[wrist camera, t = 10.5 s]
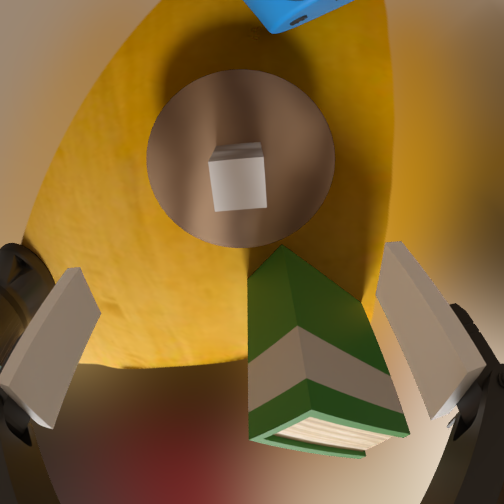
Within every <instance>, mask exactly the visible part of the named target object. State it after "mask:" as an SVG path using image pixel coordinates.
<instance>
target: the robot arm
mask: <svg viewBox="0 0 504 504" xmlns="http://www.w3.org/2000/svg"><path fill="white" fill-rule="evenodd" d="M376 297H377V299H378V300H379V302H380V304H381V306H382V308H383V311H384V312H385V315H386V317H387V319H388V321H389V323H390V325H391V327H392V329H393V331H394V333H395V335H396V338H397V340H398V342H399V344H400V346H401V349H402V351H403V353H404V355H405V357H406V360H407V362H408V364H409V366H410V369H411V371H412V374H413V376H414V378H415V381H416V383H417V386H418V388H419V391H420V393H421V396H422V398H423V400H424V403H425V406H426V408H427V411H428V414H429V417H430V419H431V420H433V419H436V418H439V417H441V416H444V415H447V414H449V413H450V412H451V411H452V409H453V408H454V407H455V406H456V405H457V407H458V409H459V412H458V413H457V414H456V416H455V417H454V418H453V419H452V420H451V421H450V422H449V424H448V425H447V428H449V427H450V426H451V425H452V424H453V423H454V424H453V428H452V431H451V434H450V436H449V439H448V442H447V445H446V447H445V450H444V453H443V455H442V458H441V460H440V463H439V465H438V467H437V470H436V472H435V474H434V476H433V479H432V481H431V483H430V485H429V487H428V489H427V491H426V494H425V496H424V497H423V499H422V501H421V503H420V504H504V364H500V363H499V361H498V360H497V358H496V357H495V355H494V353H493V352H492V350H491V348H490V347H489V345H488V343H487V342H486V340H485V339H484V337H483V336H482V334H481V333H480V332H479V329H478V328H477V326H476V325H475V324H473V320H472V319H471V318H470V316H469V315H468V313H467V312H466V311H465V310H464V309H463V308H461V307H460V306H459V305H457V304H456V303H455V304H450V305H449V304H448V303H447V301H446V300H445V298H444V297H443V296H442V294H441V293H440V291H439V290H438V289H437V287H436V286H435V285H434V283H433V282H432V280H431V279H430V278H429V276H428V275H427V274H426V272H425V271H424V270H423V268H422V267H421V266H420V264H419V263H418V262H417V260H416V259H415V258H414V257H413V255H412V254H411V253H410V252H409V250H408V249H407V248H406V247H405V245H404V244H403V243H402V242H401V241H399V242H387V243H385V248H384V254H383V260H382V265H381V270H380V276H379V281H378V286H377V290H376ZM100 315H101V312H100V310H99V308H98V306H97V304H96V302H95V300H94V298H93V295H92V293H91V291H90V289H89V287H88V284H87V282H86V280H85V278H84V275H83V273H82V271H81V268H80V267H78V268H67V270H66V271H65V272H64V274H63V275H62V277H61V278H60V279H59V281H58V282H57V283H56V285H55V284H54V281H53V279H52V276H51V274H50V273H49V271H48V269H47V268H46V266H45V265H44V264H43V262H42V261H41V260H40V259H39V258H38V257H37V256H36V255H35V254H34V253H33V252H32V251H30V250H29V249H27V248H26V247H24V246H22V245H19V244H15V243H8V244H5V245H4V246H3V247H2V248H1V249H0V504H60V502H59V499H58V497H57V495H56V493H55V490H54V488H53V485H52V483H51V480H50V478H49V475H48V472H47V470H46V467H45V464H44V461H43V458H42V455H41V452H40V449H39V446H38V443H37V439H36V436H35V432H34V429H33V426H32V424H31V423H29V420H30V417H31V418H32V419H33V420H34V421H36V422H37V423H38V424H39V425H42V426H44V427H47V428H51V429H53V427H54V425H55V421H56V419H57V416H58V413H59V410H60V407H61V405H62V402H63V400H64V397H65V394H66V392H67V389H68V387H69V384H70V382H71V379H72V377H73V374H74V372H75V370H76V367H77V365H78V362H79V360H80V358H81V356H82V353H83V351H84V349H85V347H86V344H87V342H88V340H89V338H90V336H91V333H92V331H93V329H94V327H95V325H96V323H97V321H98V319H99V317H100Z"/></svg>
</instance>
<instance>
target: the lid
mask: <svg viewBox="0 0 504 504" xmlns="http://www.w3.org/2000/svg"><path fill="white" fill-rule="evenodd" d="M334 167H335V150H334V143H333V138H332V135H331V132H330V129H329V126H328V124H327V122H326V120H325V118H324V116H323V114H322V113H321V111H320V110H319V108H318V107H317V106H316V104H315V103H314V102H313V101H312V100H311V99H310V98H309V97H308V96H307V95H306V94H305V93H304V92H303V91H302V90H300V89H299V88H298V87H296V86H295V85H293V84H292V83H290V82H288V81H286V80H285V79H282V78H280V77H278V76H275V75H273V74H269V73H265V72H261V71H256V70H247V69H237V70H226V71H220V72H216V73H213V74H210V75H207V76H204V77H202V78H200V79H198V80H195V81H193V82H192V83H190V84H189V85H187V86H186V87H184V88H183V89H181V90H180V91H179V92H178V93H177V94H176V95H174V96H173V97H172V98H171V99H170V101H169V102H168V103H167V104H166V105H165V106H164V108H163V109H162V111H161V112H160V114H159V116H158V117H157V119H156V121H155V123H154V126H153V128H152V131H151V134H150V137H149V141H148V147H147V171H148V177H149V181H150V184H151V187H152V190H153V192H154V195H155V197H156V199H157V200H158V202H159V204H160V206H161V207H162V208H163V210H164V211H165V212H166V214H167V215H168V216H169V217H170V218H171V219H172V220H173V221H174V222H175V223H176V224H177V225H178V226H180V227H181V228H182V229H183V230H185V231H186V232H188V233H189V234H191V235H193V236H194V237H197V238H199V239H201V240H203V241H205V242H208V243H212V244H215V245H219V246H224V247H232V248H250V247H257V246H262V245H266V244H270V243H273V242H276V241H278V240H281V239H283V238H285V237H287V236H289V235H291V234H292V233H294V232H295V231H297V230H298V229H300V228H301V227H302V226H303V225H304V224H305V223H307V222H308V221H309V220H310V219H311V218H312V216H313V215H314V214H315V213H316V212H317V210H318V209H319V208H320V206H321V205H322V203H323V201H324V199H325V198H326V196H327V194H328V191H329V188H330V186H331V183H332V179H333V174H334Z"/></svg>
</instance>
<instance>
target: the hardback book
mask: <svg viewBox="0 0 504 504" xmlns="http://www.w3.org/2000/svg"><path fill="white" fill-rule="evenodd" d="M247 287H248V408H249V410H248V411H249V440H251V441H255V442H259V443H263V444H267V445H272V446H277V447H282V448H286V449H291V450H297V451H303V452H308V453H315V454H322V455H329V456H338V457H346V458H357V459H361V458H363V457H365V456H366V454H365V450H367V449H369V448H371V447H373V446H375V445H377V444H379V443H381V442H383V441H385V440H387V439H389V438H391V437H393V436H396V437H402V438H404V437H406V436H408V435H410V431H409V428H408V425H407V422H406V419H405V416H404V413H403V410H402V407H401V404H400V401H399V398H398V395H397V392H396V390H395V387H394V384H393V381H392V379H391V376H390V373H389V370H388V368H387V365H386V362H385V360H384V357H383V355H382V352H381V350H380V347H379V345H378V342H377V340H376V337H375V335H374V332H373V330H372V328H371V325H370V322H369V320H368V318H367V315H366V313H365V311H364V308H363V306H362V304H361V302H359V301H358V300H357V299H356V298H354V297H353V296H352V295H350V294H349V293H348V292H346V291H345V290H344V289H342V288H341V287H339V286H338V285H337V284H335V283H334V282H333V281H331V280H330V279H329V278H327V277H326V276H325V275H323V274H322V273H321V272H319V271H318V270H317V269H315V268H314V267H312V266H311V265H310V264H308V263H307V262H306V261H304V260H303V259H302V258H300V257H299V256H297V255H296V254H295V253H293V252H292V251H291V250H289V249H288V248H286V247H285V246H284V245H281V246H280V247H279V248H278V249H277V250H276V251H275V252H274V253H273V254H272V255H271V256H270V257H269V258H268V259H267V260H266V261H265V262H264V263H263V264H262V265H261V266H260V267H259V268H258V269H257V270H256V271H255V272H254V273H253V274H252V275H251V276H250V277H249V278H248V279H247Z"/></svg>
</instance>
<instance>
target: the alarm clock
mask: <svg viewBox="0 0 504 504" xmlns="http://www.w3.org/2000/svg"><path fill="white" fill-rule="evenodd" d="M243 1H244V2H245V3H246V4H247V6H248V7H249V8H250V9H251V10H252V11H253V13H254V14H255V15H256V16H257V17H258V19H259V20H260V21H261V22H262V24H263V25H264V26H265V27H266V29H267V30H268V31H269V32H270V33H272V34H277V33H281V32H284V31H287V30H290V29H292V28H295V27H297V26H299V25H302V24H304V23H306V22H308V21H311V20H313V19H315V18H317V17H319V16H322V15H324V14H326V13H328V12H330V11H332V10H334V9H337V8H339V7H341V6H343V5H345V4H347V3H349V2H352V1H354V0H243Z"/></svg>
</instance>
